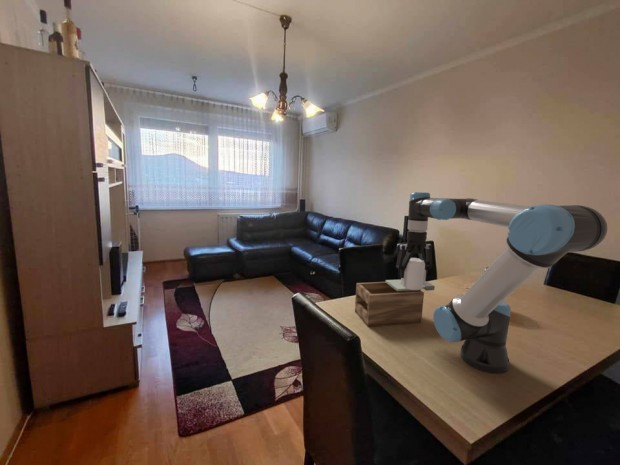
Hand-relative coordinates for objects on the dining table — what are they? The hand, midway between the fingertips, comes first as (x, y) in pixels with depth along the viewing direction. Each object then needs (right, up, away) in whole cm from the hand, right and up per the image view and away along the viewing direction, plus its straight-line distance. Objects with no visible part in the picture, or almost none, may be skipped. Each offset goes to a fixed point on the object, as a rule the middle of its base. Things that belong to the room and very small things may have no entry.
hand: (412, 284), depth 122 cm
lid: (+4, -4, +16) cm, 17 cm away
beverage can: (0, -2, 0) cm, 2 cm away
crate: (-6, -18, +17) cm, 25 cm away
